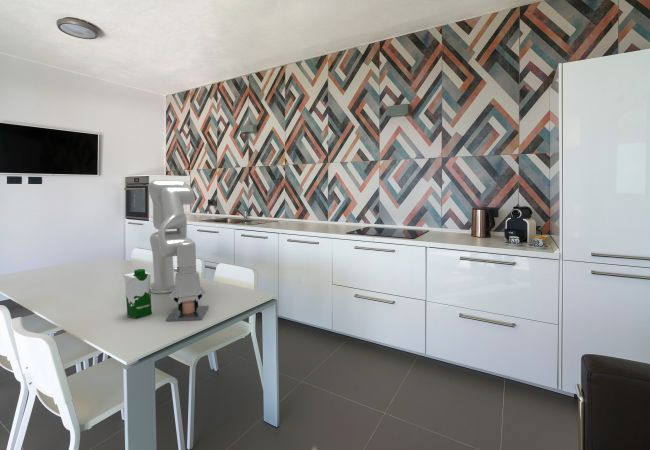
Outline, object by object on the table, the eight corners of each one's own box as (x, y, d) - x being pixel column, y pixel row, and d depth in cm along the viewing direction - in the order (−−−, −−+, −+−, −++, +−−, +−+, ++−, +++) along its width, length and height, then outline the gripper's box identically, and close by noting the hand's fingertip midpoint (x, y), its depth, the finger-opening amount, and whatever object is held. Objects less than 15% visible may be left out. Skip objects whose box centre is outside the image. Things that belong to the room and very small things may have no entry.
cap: (195, 312, 144) (195, 303, 144) (182, 314, 142) (181, 304, 142) (194, 308, 149) (194, 299, 148) (181, 310, 147) (181, 300, 146)
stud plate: (166, 321, 138) (165, 311, 137) (176, 309, 152) (176, 300, 151) (201, 320, 139) (201, 310, 139) (208, 308, 153) (208, 299, 153)
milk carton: (134, 320, 139) (131, 273, 136) (123, 315, 144) (120, 269, 142) (154, 313, 146) (152, 268, 144) (144, 309, 151) (142, 265, 149)
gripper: (165, 274, 136) (167, 317, 138) (209, 269, 144) (210, 310, 146) (164, 270, 143) (166, 310, 145) (206, 266, 150) (207, 304, 152)
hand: (188, 310), depth 145 cm, fingers closed on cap, 5 cm apart
